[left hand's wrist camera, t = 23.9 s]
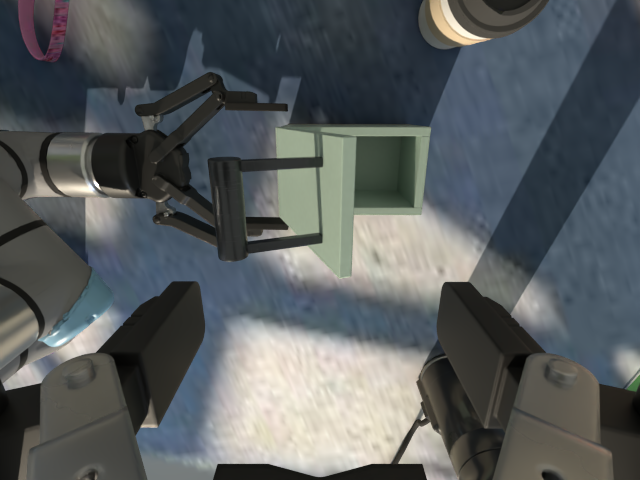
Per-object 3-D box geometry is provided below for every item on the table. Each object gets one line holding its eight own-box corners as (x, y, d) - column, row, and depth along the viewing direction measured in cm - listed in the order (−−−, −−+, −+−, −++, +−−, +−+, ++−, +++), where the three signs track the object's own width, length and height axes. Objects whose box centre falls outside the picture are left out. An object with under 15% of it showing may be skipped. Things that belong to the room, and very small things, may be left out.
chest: (407, 124, 44) (431, 127, 35) (401, 195, 48) (421, 215, 38) (288, 123, 44) (280, 126, 35) (290, 195, 48) (283, 215, 38)
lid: (357, 136, 20) (209, 139, 18) (351, 277, 24) (226, 299, 21) (284, 126, 35) (195, 127, 32) (287, 215, 38) (207, 224, 35)
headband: (37, -49, 38) (21, -58, 36) (73, -33, 38) (60, -41, 36) (28, 53, 41) (13, 50, 39) (62, 66, 42) (49, 64, 40)
